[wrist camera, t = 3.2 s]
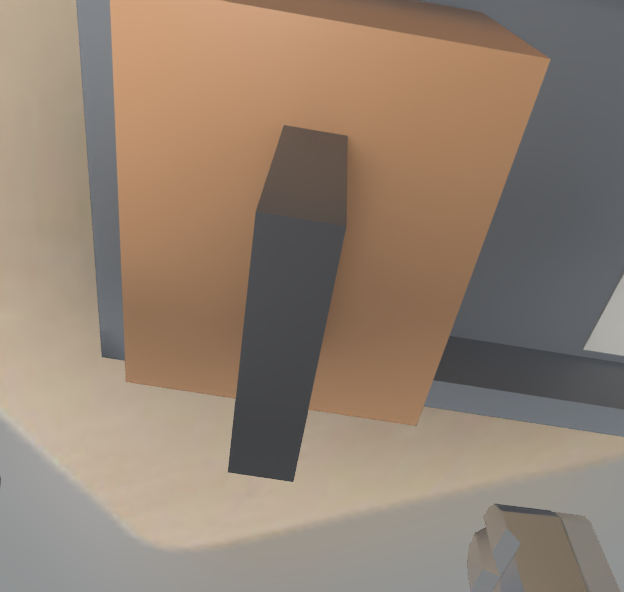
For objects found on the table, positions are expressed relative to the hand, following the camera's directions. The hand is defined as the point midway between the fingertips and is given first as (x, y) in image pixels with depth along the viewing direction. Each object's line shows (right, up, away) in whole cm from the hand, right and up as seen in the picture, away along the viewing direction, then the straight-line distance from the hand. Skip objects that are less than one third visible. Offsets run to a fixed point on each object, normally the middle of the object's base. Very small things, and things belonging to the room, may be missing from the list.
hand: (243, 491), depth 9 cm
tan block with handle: (+1, +9, +13) cm, 16 cm away
